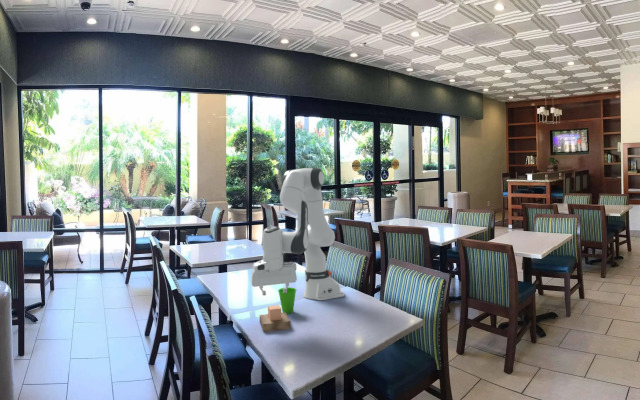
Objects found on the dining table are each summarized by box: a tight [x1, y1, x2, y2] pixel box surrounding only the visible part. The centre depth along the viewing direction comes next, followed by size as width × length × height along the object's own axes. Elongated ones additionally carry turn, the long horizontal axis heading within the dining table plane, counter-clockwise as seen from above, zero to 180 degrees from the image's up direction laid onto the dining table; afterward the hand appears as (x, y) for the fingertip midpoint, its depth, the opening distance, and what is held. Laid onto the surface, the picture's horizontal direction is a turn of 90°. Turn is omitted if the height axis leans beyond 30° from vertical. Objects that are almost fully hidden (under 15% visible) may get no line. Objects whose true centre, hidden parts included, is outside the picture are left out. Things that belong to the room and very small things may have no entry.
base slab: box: [259, 311, 292, 333], centre depth 192 cm, size 12×12×4 cm
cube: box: [267, 304, 282, 321], centre depth 191 cm, size 5×5×5 cm
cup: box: [277, 286, 297, 315], centre depth 209 cm, size 9×9×11 cm
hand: (274, 293), depth 191 cm, fingers open, 8 cm apart
